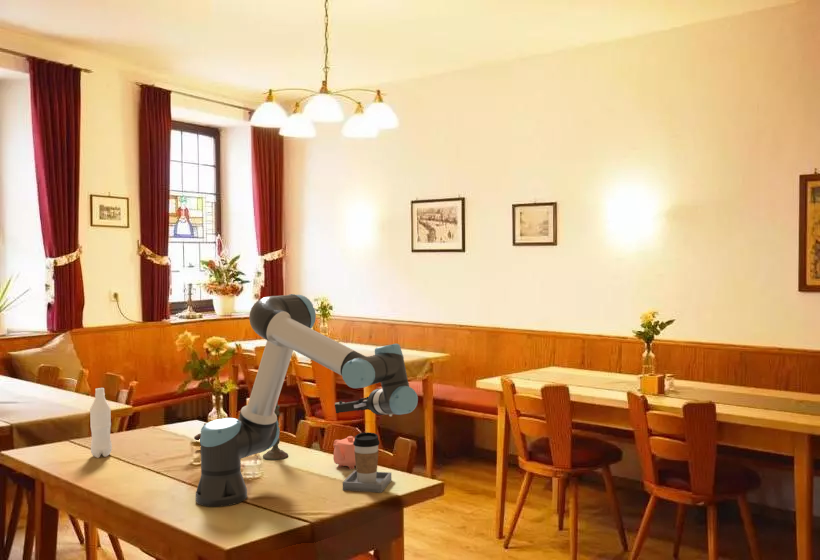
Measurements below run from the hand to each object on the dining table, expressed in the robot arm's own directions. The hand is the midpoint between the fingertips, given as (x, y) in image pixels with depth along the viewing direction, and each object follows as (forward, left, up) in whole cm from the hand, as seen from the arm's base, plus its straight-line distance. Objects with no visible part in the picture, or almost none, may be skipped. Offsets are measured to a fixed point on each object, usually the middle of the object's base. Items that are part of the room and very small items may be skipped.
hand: (356, 403), depth 231 cm
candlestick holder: (+28, +40, -27) cm, 56 cm away
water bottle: (+17, +104, -27) cm, 109 cm away
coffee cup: (+3, -2, -26) cm, 26 cm away
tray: (+3, -2, -27) cm, 27 cm away
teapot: (+23, +9, -27) cm, 37 cm away
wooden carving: (+37, +68, -27) cm, 82 cm away
